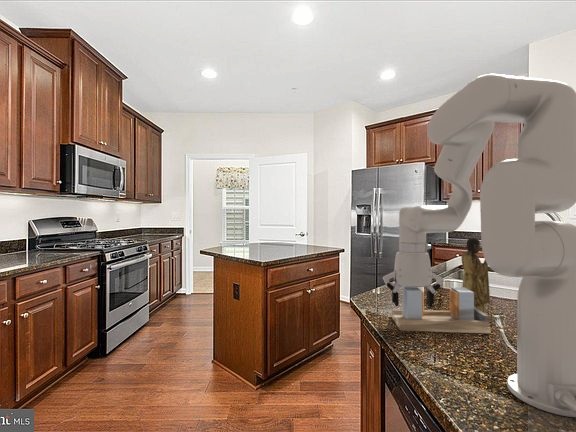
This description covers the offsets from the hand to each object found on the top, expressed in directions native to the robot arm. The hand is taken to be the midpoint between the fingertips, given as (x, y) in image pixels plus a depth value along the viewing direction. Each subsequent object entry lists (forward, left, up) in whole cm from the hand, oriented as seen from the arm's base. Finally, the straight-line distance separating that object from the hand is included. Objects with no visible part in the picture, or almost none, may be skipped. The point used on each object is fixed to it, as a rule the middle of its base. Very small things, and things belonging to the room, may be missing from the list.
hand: (412, 305), depth 96 cm
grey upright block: (0, 0, -4) cm, 4 cm away
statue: (+13, -24, -6) cm, 28 cm away
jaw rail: (0, -7, -6) cm, 9 cm away
